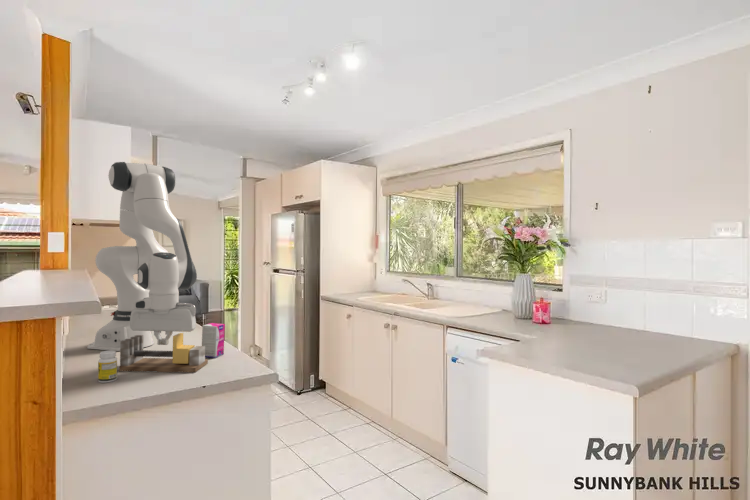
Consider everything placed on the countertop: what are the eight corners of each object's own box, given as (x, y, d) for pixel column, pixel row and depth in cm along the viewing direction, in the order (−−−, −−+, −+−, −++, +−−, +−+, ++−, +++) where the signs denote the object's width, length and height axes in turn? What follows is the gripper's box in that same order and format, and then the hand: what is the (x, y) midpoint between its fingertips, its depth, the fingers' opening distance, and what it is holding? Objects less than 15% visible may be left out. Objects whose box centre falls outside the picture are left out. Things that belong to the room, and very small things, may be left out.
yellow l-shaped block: (172, 363, 136) (172, 336, 136) (179, 359, 140) (179, 333, 140) (188, 363, 136) (188, 336, 136) (194, 359, 140) (194, 333, 140)
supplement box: (215, 358, 150) (216, 326, 150) (200, 357, 151) (201, 325, 151) (224, 354, 155) (225, 323, 155) (210, 353, 157) (210, 322, 156)
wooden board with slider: (119, 371, 133) (119, 341, 133) (136, 362, 143) (137, 334, 143) (195, 372, 133) (195, 342, 133) (207, 363, 143) (208, 335, 143)
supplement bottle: (100, 378, 125) (100, 350, 125) (118, 377, 127) (119, 349, 127) (96, 383, 121) (96, 354, 121) (115, 382, 123) (115, 353, 122)
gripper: (199, 301, 141) (198, 342, 141) (138, 300, 141) (137, 341, 141) (191, 304, 135) (190, 347, 135) (127, 303, 135) (126, 346, 135)
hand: (163, 344), depth 138 cm, fingers closed
